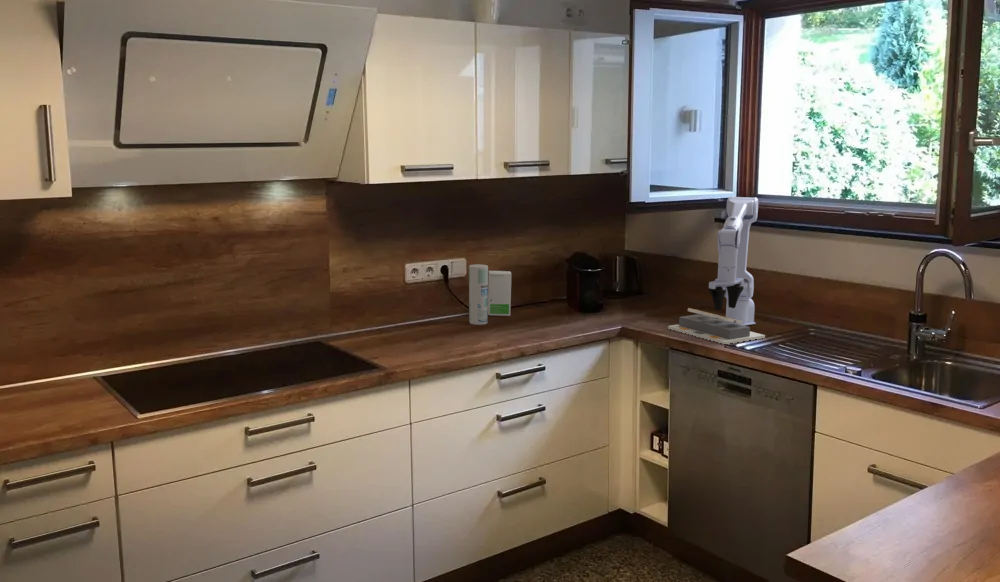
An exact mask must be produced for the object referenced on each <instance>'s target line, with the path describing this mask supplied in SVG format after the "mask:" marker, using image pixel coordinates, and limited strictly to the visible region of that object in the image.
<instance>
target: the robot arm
mask: <svg viewBox="0 0 1000 582" xmlns="http://www.w3.org/2000/svg"><path fill="white" fill-rule="evenodd" d="M725 210H726V214H727V218H726V219H725V222H724V224H723V228H721V230H718V232H717V252H718V259H717V260H718V263H717V278H715V280H713V281H712V280H711V281H709V282H708V291H709V293H710V295H711V297H712V301H713V306H714V309H715V311H722V309H723V304H724V297H725V299H726V305H725V306H726V307H725V309H726V310H725V317H728V318H732V319H736V320H740V321H743V322H742V324H740V325H744V326H750V325H756V324H757V323H756V322H755V311H756V310H755V309H756V308H755V303H754V300H753V299H752V298H753V296H754V289H755V283H754V281H755V279H754V276H753V275H752V274H751V273H750V272H749V271H747V264H748V263H747V261H748V251H749V239H750V228H751V225H752V224H753V223H755V222H757V219H758V212H759V198H758V197H743V196H729V197H728V198H727V200H726V209H725ZM728 322H729V321H728ZM732 323H733V322H732ZM736 324H739V323H736Z"/></svg>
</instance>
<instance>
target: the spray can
mask: <svg viewBox="0 0 1000 582" xmlns="http://www.w3.org/2000/svg"><path fill="white" fill-rule="evenodd" d="M488 281H489V266H488V265H487V264H480V263H479V264H477V263H475V264H469V266H468V300H469V301H468V302H469V303H468V311H469V314H468V317H469V319H468V321H469V324H470V325H478V326H480V325H487V324H488Z"/></svg>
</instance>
